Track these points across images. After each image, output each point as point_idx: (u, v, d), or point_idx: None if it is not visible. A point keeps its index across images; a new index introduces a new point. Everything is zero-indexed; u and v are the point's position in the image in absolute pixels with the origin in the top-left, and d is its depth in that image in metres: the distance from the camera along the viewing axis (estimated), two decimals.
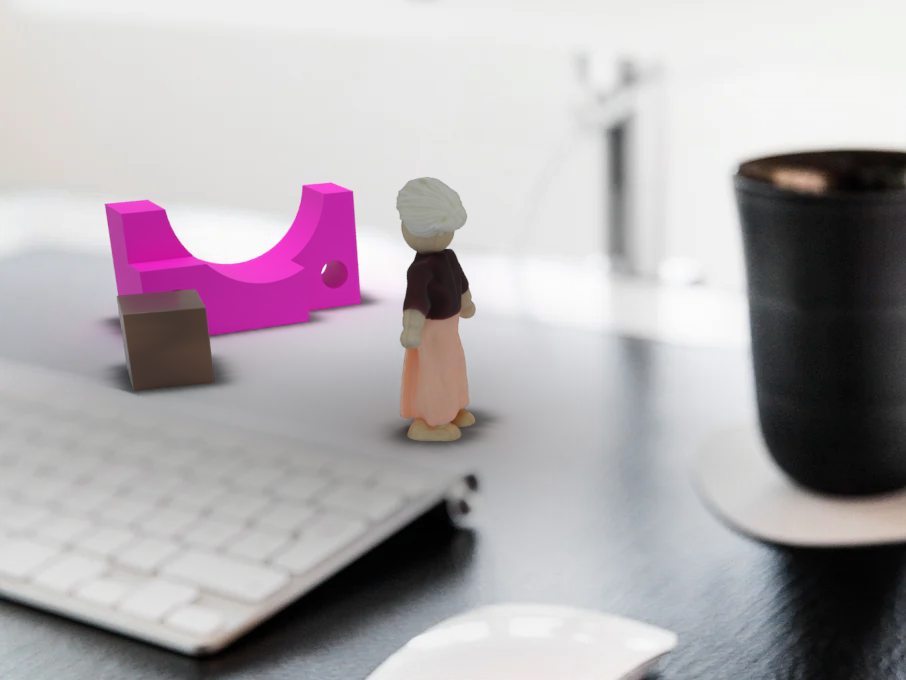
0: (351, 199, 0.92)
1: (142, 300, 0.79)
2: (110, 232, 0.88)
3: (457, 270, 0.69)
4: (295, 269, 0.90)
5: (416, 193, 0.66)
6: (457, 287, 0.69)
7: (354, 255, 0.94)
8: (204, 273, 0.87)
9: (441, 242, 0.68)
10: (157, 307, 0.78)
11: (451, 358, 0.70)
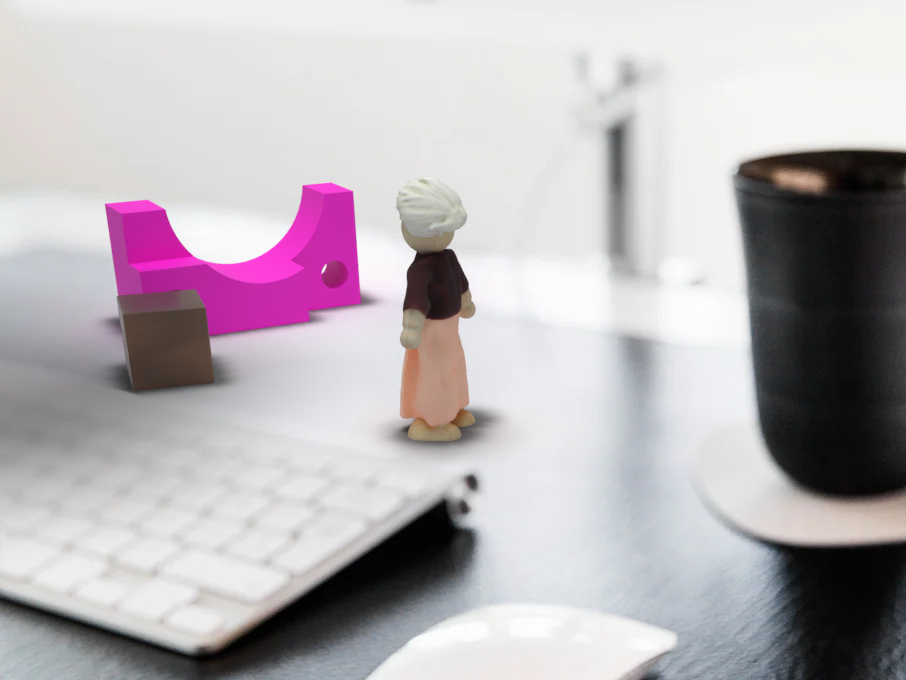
0: (351, 199, 0.92)
1: (142, 300, 0.79)
2: (110, 232, 0.88)
3: (457, 270, 0.69)
4: (295, 269, 0.90)
5: (416, 193, 0.66)
6: (457, 287, 0.69)
7: (354, 255, 0.94)
8: (204, 273, 0.87)
9: (441, 242, 0.68)
10: (157, 307, 0.78)
11: (451, 358, 0.70)
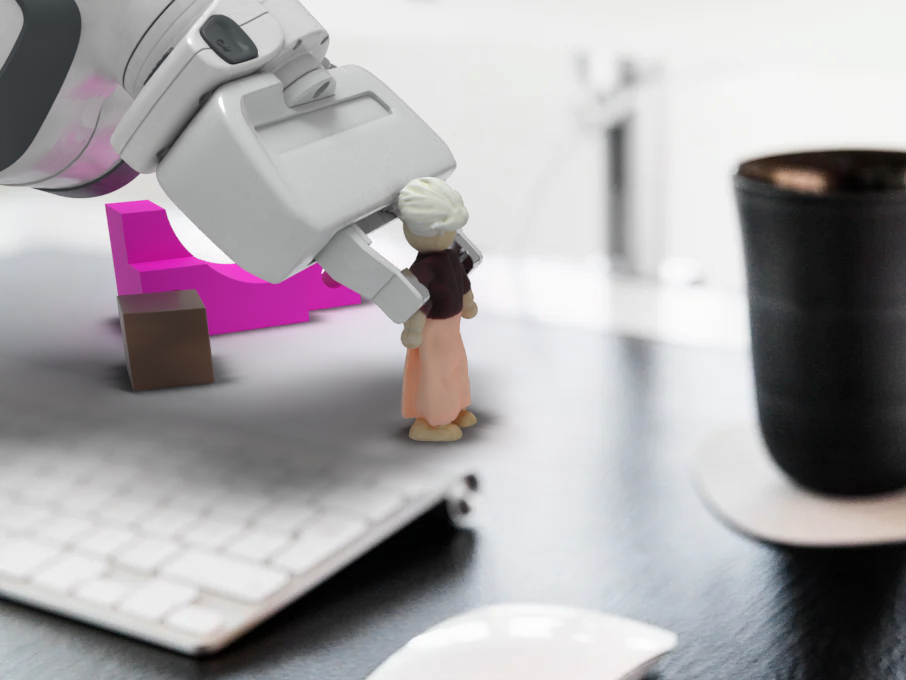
0: None
1: (142, 300, 0.79)
2: (110, 232, 0.88)
3: (459, 270, 0.69)
4: None
5: (418, 192, 0.67)
6: (459, 287, 0.69)
7: None
8: (204, 273, 0.87)
9: (442, 242, 0.68)
10: (157, 307, 0.78)
11: (452, 357, 0.70)
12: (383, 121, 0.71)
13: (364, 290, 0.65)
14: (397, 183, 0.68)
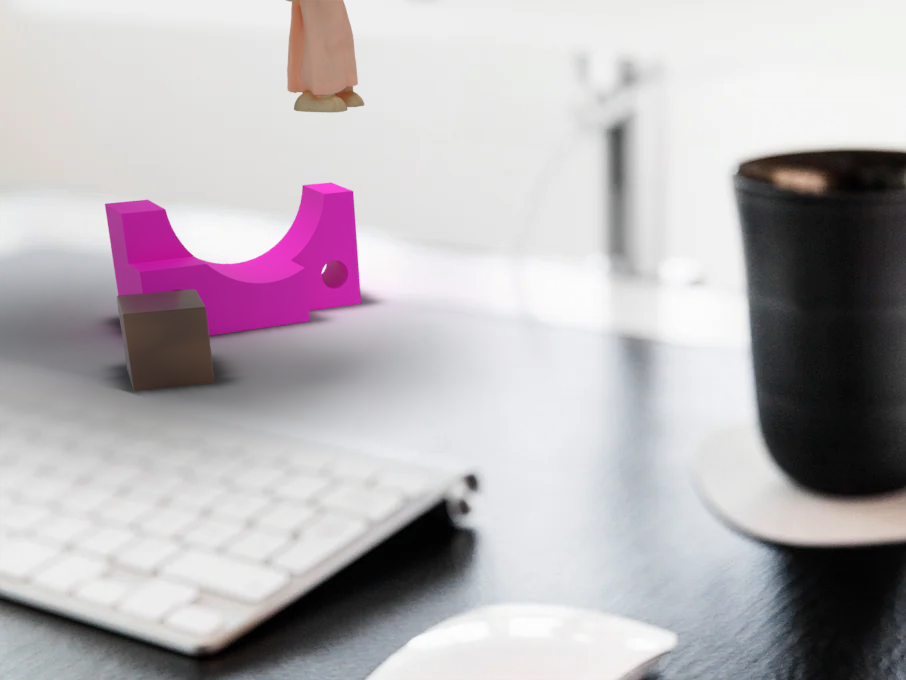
0: (351, 199, 0.92)
1: (142, 300, 0.79)
2: (110, 232, 0.88)
3: None
4: (295, 269, 0.90)
5: None
6: None
7: (354, 255, 0.94)
8: (204, 273, 0.87)
9: None
10: (157, 307, 0.78)
11: (335, 25, 0.72)
12: None
13: None
14: None
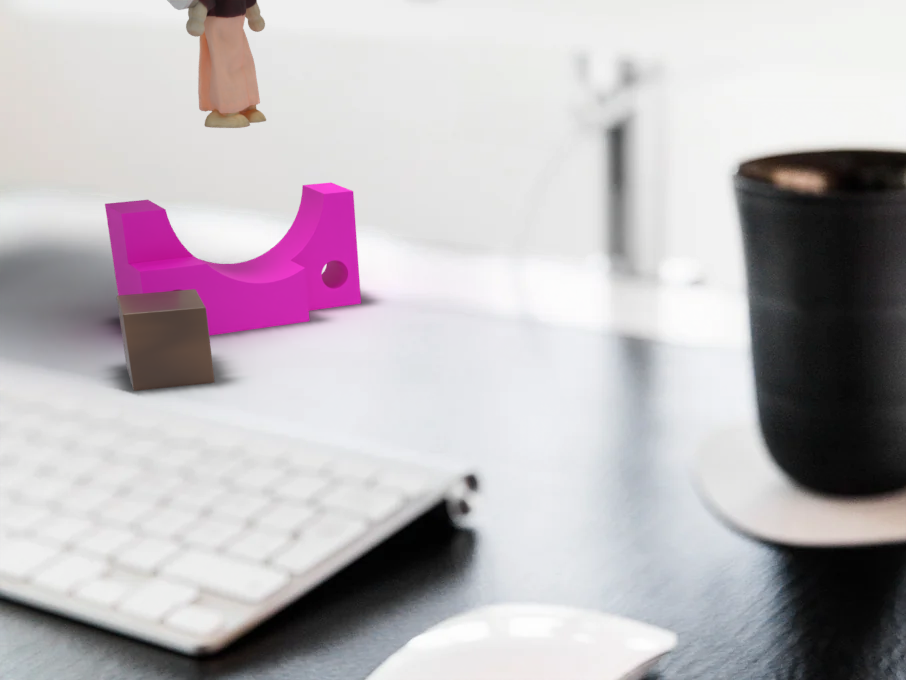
0: (351, 199, 0.92)
1: (142, 300, 0.79)
2: (110, 232, 0.88)
3: None
4: (295, 269, 0.90)
5: None
6: None
7: (354, 255, 0.94)
8: (204, 273, 0.87)
9: None
10: (157, 307, 0.78)
11: (237, 54, 0.85)
12: None
13: None
14: None
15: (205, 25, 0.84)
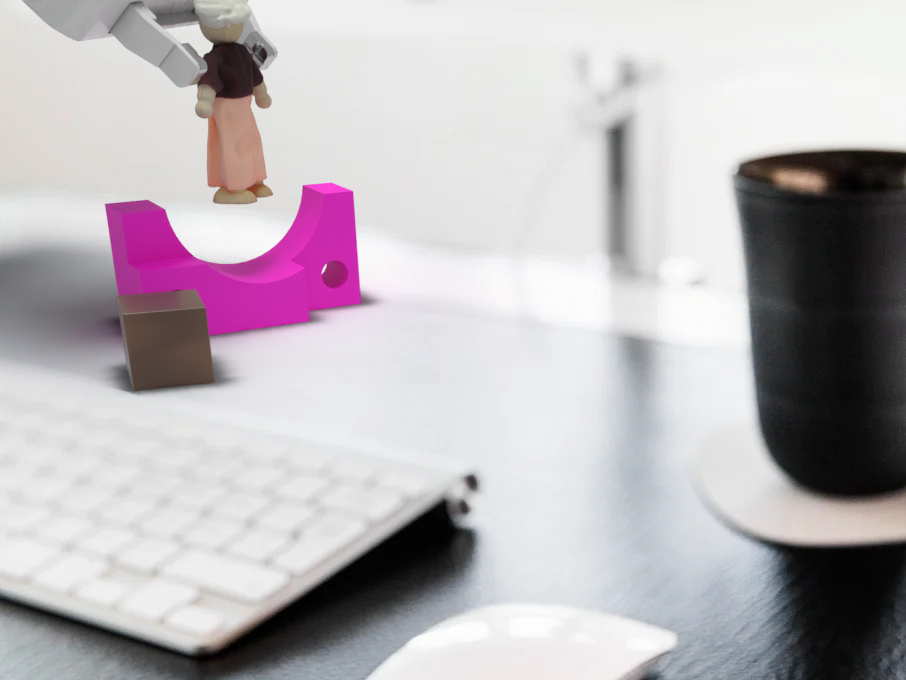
0: (351, 199, 0.92)
1: (142, 300, 0.79)
2: (110, 232, 0.88)
3: (247, 60, 0.86)
4: (295, 269, 0.90)
5: None
6: (247, 74, 0.86)
7: (354, 255, 0.94)
8: (204, 273, 0.87)
9: (230, 33, 0.84)
10: (157, 307, 0.78)
11: (244, 133, 0.87)
12: None
13: (151, 57, 0.80)
14: None
15: (213, 106, 0.86)
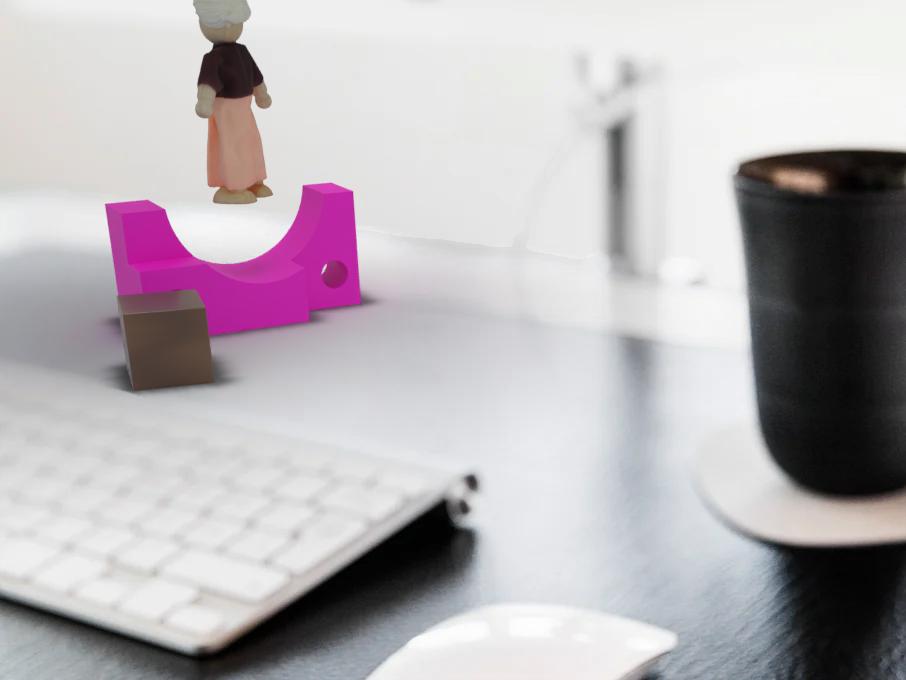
0: (351, 199, 0.92)
1: (142, 300, 0.79)
2: (110, 232, 0.88)
3: (247, 60, 0.86)
4: (295, 269, 0.90)
5: None
6: (247, 74, 0.86)
7: (354, 255, 0.94)
8: (204, 273, 0.87)
9: (230, 33, 0.84)
10: (157, 307, 0.78)
11: (244, 133, 0.87)
12: None
13: None
14: None
15: (213, 106, 0.86)
